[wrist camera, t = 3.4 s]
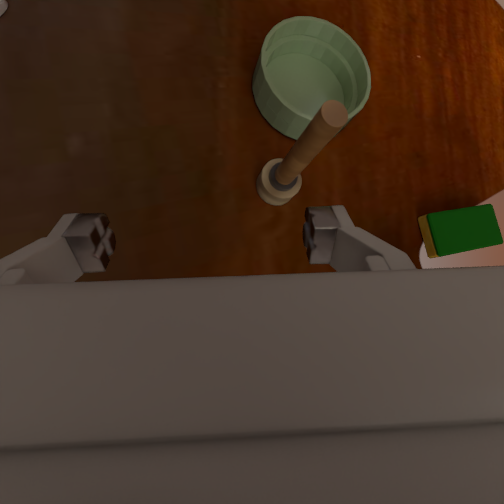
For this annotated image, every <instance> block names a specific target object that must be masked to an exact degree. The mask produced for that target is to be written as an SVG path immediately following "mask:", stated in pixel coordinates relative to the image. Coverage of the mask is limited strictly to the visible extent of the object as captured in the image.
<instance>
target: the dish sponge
mask: <svg viewBox="0 0 504 504" xmlns="http://www.w3.org/2000/svg"><path fill="white" fill-rule="evenodd" d="M418 222H419V226H420V229H421V233H422V237H423V240H424V244H425V248H426V251H427V255H428V257H429V258H435V257H441V256H446V255H450V254H455V253H460V252H465V251H469V250H474V249H479V248H484V247H489V246H493V245H498V244H502V243H503V239H502V236H501V232H500V229H499V226H498V222H497V219H496V216H495V213H494V209H493V206H492V205H491V204H486V205H479V206H473V207H467V208H460V209H454V210H448V211H442V212H436V213H429V214H427V215H424V216H421V217H419V218H418Z"/></svg>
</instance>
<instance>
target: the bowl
mask: <svg viewBox="0 0 504 504" xmlns="http://www.w3.org/2000/svg"><path fill="white" fill-rule="evenodd" d="M370 88H371V77H370V70H369V67H368V63H367V60H366V58H365V56H364V54H363V53H362V51H361V49H360V47H359V46H358V45H357V44H356V43H355V41H354V40H353V39H352V38H351V37H350V36H349V35H348V34H347V33H345V32H344V31H343V30H342V29H340V28H339V27H338V26H336V25H334V24H332V23H330V22H328V21H326V20H323V19H319V18H315V17H311V16H296V17H293V18H289V19H285V20H283V21H282V22H280V23H278V24H277V25H275V26H274V27H273V28H272V29H271V31H270V32H269V33H268V34H267V36H266V38H265V40H264V43H263V46H262V49H261V52H260V55H259V58H258V61H257V65H256V68H255V71H254V74H253V84H252V89H253V93H254V98H255V102H256V104H257V106H258V108H259V110H260V112H261V113H262V115H263V116H264V118H265V119H266V120H267V121H268V122H269V123H270V124H271V126H273V127H274V128H275V129H277V130H278V131H280V132H281V133H282V134H284V135H286V136H288V137H291V138H293V139H295V140H297V139H298V138H299V137H300V135H301V134H302V133H303V131H304V130H305V128H306V127H307V126H308V124H309V123H310V121H311V120H312V119H313V117H314V116H315V114H316V113H317V112H318V110H319V109H320V107H321V106H322V105H323V103H324V102H326V101H328V100H336V101H338V102H340V103H342V104H343V105H344V106H345V108H346V110H347V112H348V120H347V122H346V124H345V125H344V126H343V127H342V128H341V129H340V130H339V131H338V132H337V134H338V133H339V132H340V131H341V130H343V129H344V128H345V127H346V125H347V124H348V123H349V122H350V121H351V120H352V119H353V118H354V117H355V116H356V115H357V114H358V113H359V112H360V110H361V109H362V108H363V106H364V105H365V103H366V101H367V100H368V97H369V92H370ZM337 134H336V135H337ZM336 135H335V136H336Z"/></svg>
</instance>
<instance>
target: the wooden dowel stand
mask: <svg viewBox="0 0 504 504" xmlns="http://www.w3.org/2000/svg"><path fill="white" fill-rule="evenodd" d="M347 120H348V112H347V110H346V108H345V106H344V105H343V104H342V103H340V102H338V101H336V100H328V101H326V102H324V103H323V105H322V106H321V107H320V109H319V110H318V112H317V113H316V114H315V116H314V117H313V119H312V120H311V121H310V123H309V124H308V126H307V127H306V128H305V130H304V131H303V133H302V134H301V135H300V137H299V138H298V139H297V141H296V142H295V144H294V145H293V146H292V148H291V149H290V151H289V152H288V153H287V155H286V156H285V158H284V159H280V158H278V159H273V160H271V161H269V162H268V163H267V164H266V165H265V166H264V168H263V169H262V171H261V172H260V174H259V176H258V178H257V181H256V188H257V192H258V194H259V196H260V197H261V198H262V199H263V200H264V201H265V202H267V203H269V204H272V205H282V204H285V203H287V202H288V201H289V200H290V199H291V198H292V197H293V196H294V195H295V194H296V193H297V192H298V191H299V189H300V187H301V183H302V179H301V174H300V173H301V172H302V170H303V169H304V168H305V167H306V166H307V165H308V164H309V163H310V162H311V161H312V160H313V159H314V157H315V156H316V155H317V154H318V153H319V152H320V151H321V150H322V149H323V148H324V147H325V145H326V144H327V143H328V142H329V141H330V140H331V139H332V138H333V137H334V136H335V135H336V134H337V132H338V131H339V130H340V129H341V128H342V127H343V126H344V125H345V124H346V122H347Z"/></svg>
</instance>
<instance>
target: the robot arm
mask: <svg viewBox="0 0 504 504" xmlns="http://www.w3.org/2000/svg"><path fill="white" fill-rule="evenodd" d="M7 8H8V2H7V1H6V0H0V16H1V15H2V14H3V13H4V12H5V11H6V10H7ZM305 219H306V222H305V224H304V225H303V243H304V246H305V247H306V248H307V252H306V254H307V257H308V260H309V264H330V265H331V266H332V267H333V268H334V269H335V270H336V271H337V272H329V273H303V274H277V275H252V276H226V277H200V278H174V279H148V280H122V281H96V282H74V281H76V280H77V279H78V278H79V277H80V276H81V275H83V273H90V272H105V270H106V268H107V266H108V263H109V261H110V259H109V257H108V256H110V255H111V254H113V252H114V250H115V246H116V239H115V235H114V232H113V231H112V230H111V229H110V228H109V227H108V225H109V223H110V221H109V219H108V217H107V215H106V214H104V213H80V214H78V213H75V214H65V215H63V216H62V218H61V219H60V220H59V222H58V223H57V224H56V226H55V227H54V228H53V230H52V231H51V232H50V233H49V235H48V236H47V237H45V238H41V239H39V240H37V241H35V242H33V243H31V244H29V245H27V246H25V247H23V248H21V249H19V250H17V251H15V252H14V253H12V254H10V255H8V256H6V257H4V258H2V259H0V504H504V266H485V267H460V268H437V269H436V268H435V269H416V267H415V266H414V264H413V263H412V261H411V260H410V258H409V257H408V255H407V254H406V253H404V252H403V251H401V250H399V249H397V248H395V247H393V246H392V245H390V244H388V243H386V242H384V241H383V240H381V239H379V238H377V237H375V236H374V235H372V234H370V233H368V232H366V231H365V230H363V229H361V228H359V227H355V226H354V224H353V223H352V221H351V219H350V217H349V215H348V213H347V211H346V209H345V208H344V206H343V205H337V206H322V207H306V210H305Z"/></svg>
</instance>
